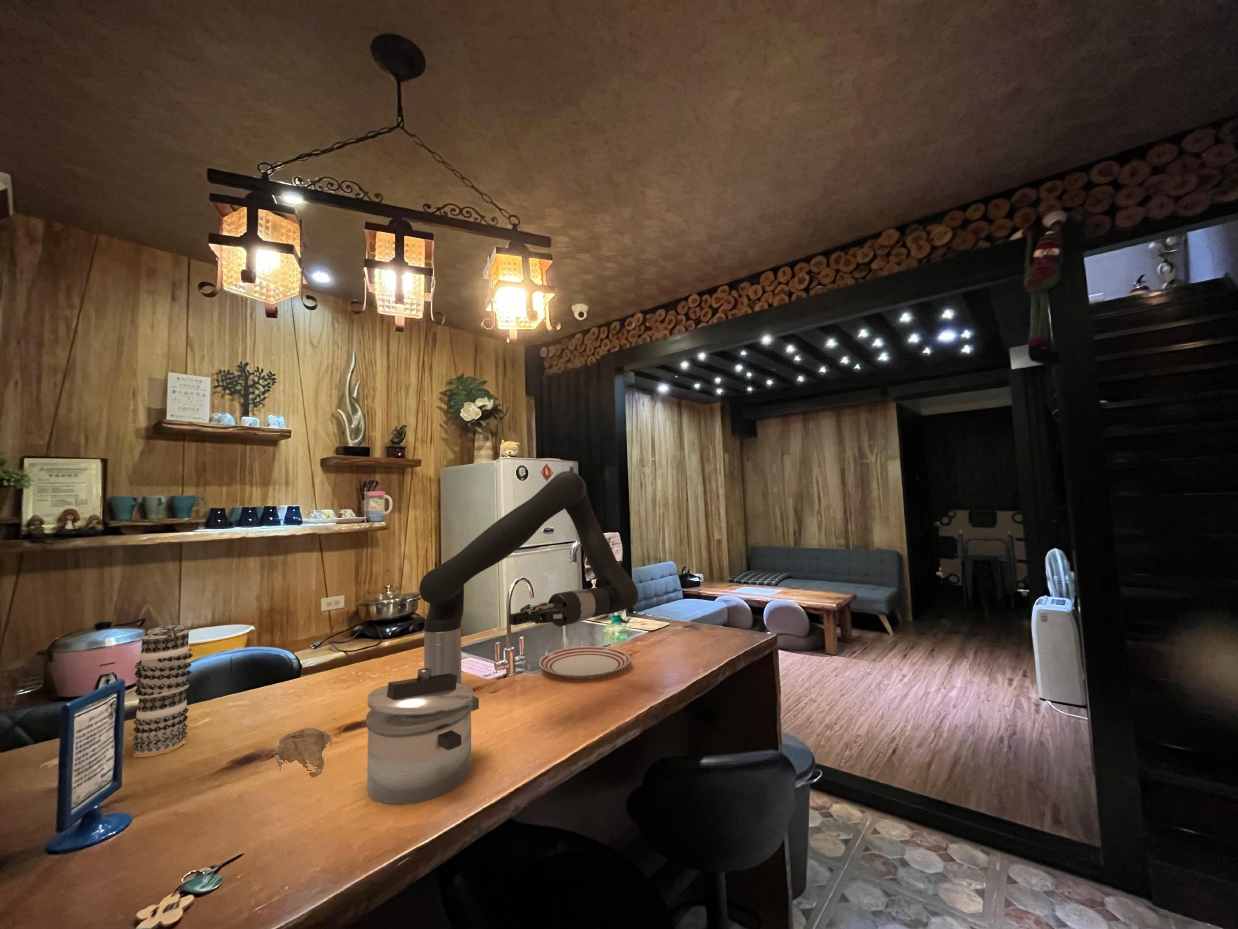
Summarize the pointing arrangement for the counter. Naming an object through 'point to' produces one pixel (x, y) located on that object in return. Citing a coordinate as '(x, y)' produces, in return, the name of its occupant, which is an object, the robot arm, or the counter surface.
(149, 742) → the decorative candle
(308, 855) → the counter surface
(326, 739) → the fish fossil
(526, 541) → the robot arm
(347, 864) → the counter surface
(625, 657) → the dinner plate
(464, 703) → the cooker lid
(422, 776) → the cooker pot
